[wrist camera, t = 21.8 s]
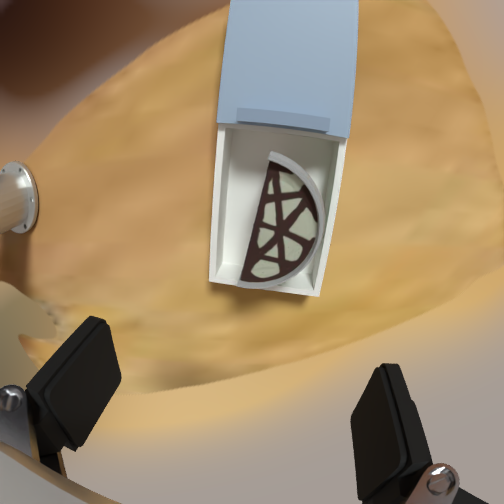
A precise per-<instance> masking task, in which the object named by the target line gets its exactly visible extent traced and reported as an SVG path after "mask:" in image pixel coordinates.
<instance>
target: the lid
mask: <svg viewBox="0 0 504 504" xmlns="http://www.w3.org/2000/svg"><path fill="white" fill-rule="evenodd" d="M357 39H358V0H231V4H230V10H229V17H228V25H227V32H226V40H225V48H224V56H223V64H222V73H221V82H220V91H219V101H218V112H217V122H216V123H230V124H244V125H256V126H266V127H276V128H284V129H292V130H300V131H307V132H314V133H320V134H326V135H332V136H338V137H343V138H349V134H350V125H351V116H352V107H353V97H354V85H355V73H356V58H357Z"/></svg>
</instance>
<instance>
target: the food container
mask: <svg viewBox="0 0 504 504" xmlns="http://www.w3.org/2000/svg"><path fill="white" fill-rule="evenodd" d="M268 160H269V165H268V168H267V173H266V178H265V181H264V186H263V189H262V193H261V198H260V202H259V206H258V210H257V214H256V218H255V222H254V224H253V230H252V234H251V237H250V242H249V246H248V249H247V253H246V257H245V261H244V265H243V268H242V271H241V274H240V277H239V280H238V283H237V287H242V288H251V289H258V288H267V287H272V286H276V285H278V284H281V283H283V282H285V281H287V280H289V279H291V278H292V277H294V276H296V275H297V274H298V273H299V272H301V271H302V270H303V269H304V268H305V267H306V266H307V265H308V264H309V263H310V261H311V260H312V258H313V257H314V255H315V254H316V252H317V249H318V247H319V245H320V242H321V239H322V236H323V232H324V227H325V211H324V204H323V201H322V197H321V194H320V192H319V190H318V188H317V186H316V184H315V182H314V181H313V180H312V178H311V177H310V175H309V174H308V173H307V172H306V171H305V170H304V169H303V168H302V167H301V166H300V165H298V164H297V163H296V162H294V161H293V160H292V159H290V158H288V157H286V156H284V155H282V154H279V153H276V152H273V151H271V152H270V154H269V158H268Z"/></svg>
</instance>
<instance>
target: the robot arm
mask: <svg viewBox="0 0 504 504" xmlns="http://www.w3.org/2000/svg"><path fill="white" fill-rule="evenodd" d="M37 213H38V193H37V188H36V184H35V181H34V179H33V176H32V174H31V172H30V171H29V169H28V168H27V167H26V166H25V165H24V164H23V163H21V162H19V161H13V162H9V163H7V164H6V165H5V166H4V167H3V168H2V170H1V172H0V234H2V233H4V232H6V231H8V230H10V229H11V230H12V231H14V232H16V233H24V232H26V231H28V230H30V229H31V228H32V227H33V225H34V223H35V221H36V218H37ZM120 382H121V372H120V368H119V364H118V360H117V356H116V352H115V348H114V344H113V340H112V335H111V330H110V327H109V325H108V324H107V323H106V321H105V320H104V319H101V318H98V317H94V316H89V317H88V318H87V319H86V320H85V321H84V322H83V323H82V324H81V325H80V326H79V327H78V328H77V329H76V330H75V332H74V333H73V334H72V335H71V336H70V337H69V338H68V339H67V340H66V341H65V342H64V343H63V344H62V346H61V347H60V348H59V349H58V350H57V351H56V352H55V353H54V354H53V355H52V357H51V358H50V359H49V360H48V361H47V362H46V363H45V364H44V366H43V367H42V368H41V369H40V370H39V371H38V372H37V374H36V375H35V376H34V377H33V378H32V380H31V381H30V382H29V383H28V384H27V385H26V387H27V389H26V390H25V391H24V390H23V389H22V388H21V387H20V386H17V385H6V386H4V387H2V388H0V504H121V503H118V502H116V501H113V500H111V499H109V498H106V497H104V496H102V495H100V494H98V493H95V492H93V491H91V490H89V489H87V488H85V487H83V486H81V485H79V484H77V483H75V482H73V481H71V480H70V479H68V478H67V474H66V471H65V467H64V462H63V458H62V454H61V449H62V448H63V446H65V447H67V448H69V449H71V450H73V451H75V452H76V450H77V448H78V447H81V446H83V444H84V443H85V441H86V439H87V438H88V436H89V434H90V432H91V431H92V429H93V427H94V426H95V424H96V422H97V421H98V419H99V417H100V416H101V414H102V412H103V411H104V409H105V407H106V406H107V404H108V402H109V401H110V399H111V397H112V396H113V394H114V393H115V391H116V389H117V388H118V386H119V384H120ZM350 422H351V430H352V439H353V449H354V459H355V469H356V481H357V494H358V499H359V500H361V501H362V504H488V503H486V502H484V501H483V500H481V499H479V498H477V497H475V496H473V495H472V494H470V493H468V492H466V491H465V490H463V489H461V488H460V487H459V484H460V483H459V476H458V473H457V472H456V471H455V469H454V468H453V467H451V466H450V465H447V464H444V463H437V464H434V465H433V463H432V459H431V455H430V451H429V447H428V444H427V440H426V437H425V433H424V430H423V427H422V423H421V420H420V417H419V414H418V411H417V408H416V405H415V403H414V401H413V400H411V397H410V395H409V391H408V388H407V385H406V383H405V380H404V377H403V374H402V371H401V369H400V366H399V365H398V364H389V363H383V364H381V365H380V367H377V368H375V370H374V372H373V374H372V376H371V378H370V380H369V382H368V384H367V386H366V388H365V390H364V392H363V394H362V396H361V398H360V400H359V402H358V404H357V406H356V408H355V409H354V411H353V413H352V415H351V421H350Z"/></svg>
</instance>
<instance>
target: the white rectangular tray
mask: <svg viewBox="0 0 504 504" xmlns="http://www.w3.org/2000/svg"><path fill="white" fill-rule="evenodd" d="M346 143H347V138H343V137H338V136H332V135H326V134H320V133H314V132H307V131H300V130H292V129H284V128H276V127H266V126H256V125H244V124H230V123H219V125H218V137H217V149H216V162H215V175H214V190H213V206H212V224H211V244H210V268H209V281H210V282H216V283H223V284H229V285H236V286H237V283H238V280H239V277H240V274H241V271H242V268H243V265H244V261H245V257H246V253H247V249H248V246H249V242H250V237H251V234H252V230H253V224H254V222H255V218H256V214H257V210H258V206H259V202H260V198H261V193H262V189H263V186H264V181H265V178H266V173H267V168H268V165H269V160H268V158H269V154H270V152H271V151H273V152H276V153H279V154H282V155H284V156H286V157H288V158H290V159H292V160H293V161H294V162H296V163H297V164H298V165H300V166H301V167H302V168H303V169H304V170H305V171H306V172H307V173H308V174H309V175H310V177H311V178H312V180H313V181H314V182H315V184H316V186H317V188H318V190H319V192H320V194H321V197H322V201H323V204H324V211H325V227H324V232H323V236H322V239H321V242H320V245H319V247H318V249H317V252H316V254H315V255H314V257H313V258H312V260H311V261H310V263H309V264H308V265H307V266H306V267H305V268H304V269H303V270H302V271H301V272H299V273H298V274H297V275H296V276H294V277H292V278H291V279H289V280H287V281H285V282H283V283H281V284H278V285H276V286H272V287H267V288H258V289H264V290H271V291H278V292H286V293H293V294H301V295H309V296H317V297H319V294H320V289H321V285H322V280H323V276H324V271H325V267H326V262H327V257H328V252H329V247H330V242H331V237H332V232H333V226H334V221H335V215H336V209H337V204H338V198H339V192H340V185H341V179H342V172H343V165H344V158H345V151H346Z"/></svg>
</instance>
